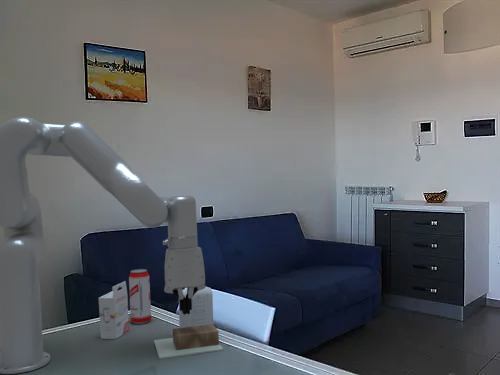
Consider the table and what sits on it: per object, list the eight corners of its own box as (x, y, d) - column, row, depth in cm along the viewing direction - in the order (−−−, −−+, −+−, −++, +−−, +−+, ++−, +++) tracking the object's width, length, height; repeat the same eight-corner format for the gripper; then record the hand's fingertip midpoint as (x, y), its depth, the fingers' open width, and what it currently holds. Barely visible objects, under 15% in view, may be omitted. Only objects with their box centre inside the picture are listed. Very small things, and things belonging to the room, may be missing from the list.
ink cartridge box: (113, 329, 147) (111, 280, 147) (129, 330, 146) (127, 280, 146) (99, 339, 139) (97, 286, 138) (116, 339, 138) (113, 286, 137)
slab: (175, 336, 126) (218, 331, 129) (172, 328, 132) (213, 324, 135) (176, 350, 126) (219, 344, 129) (173, 341, 132) (213, 336, 135)
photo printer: (210, 324, 149) (208, 283, 149) (215, 327, 145) (214, 285, 145) (177, 329, 144) (175, 287, 144) (182, 333, 141) (180, 290, 140)
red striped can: (145, 318, 158) (143, 268, 158) (155, 321, 154) (152, 270, 153) (127, 322, 154) (125, 270, 154) (136, 326, 150) (134, 273, 149)
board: (159, 359, 121) (159, 357, 121) (153, 341, 134) (153, 340, 134) (223, 350, 125) (223, 348, 125) (211, 334, 139) (211, 332, 139)
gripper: (155, 247, 124) (158, 320, 124) (214, 242, 128) (217, 313, 128) (152, 243, 131) (155, 312, 131) (208, 239, 135) (211, 306, 135)
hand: (186, 313), depth 130 cm, fingers closed
